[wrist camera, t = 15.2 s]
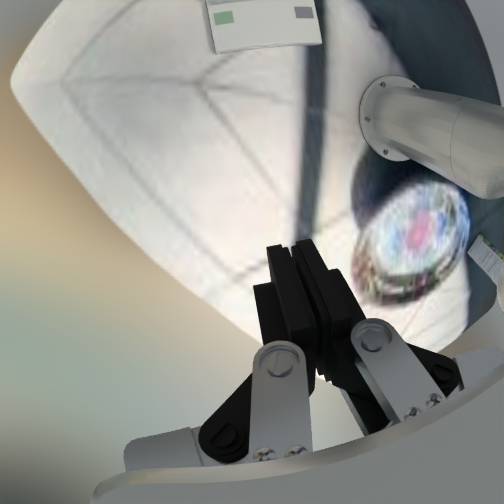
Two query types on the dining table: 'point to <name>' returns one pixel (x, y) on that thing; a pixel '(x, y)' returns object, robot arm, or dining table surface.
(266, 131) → the dining table surface
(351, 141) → the dining table surface
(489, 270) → the syrup box
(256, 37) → the breaker panel
